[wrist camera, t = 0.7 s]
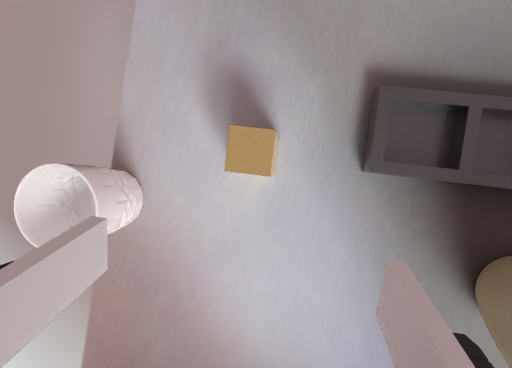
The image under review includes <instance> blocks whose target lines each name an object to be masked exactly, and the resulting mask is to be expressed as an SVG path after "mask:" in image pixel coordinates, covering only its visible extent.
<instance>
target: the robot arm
mask: <svg viewBox="0 0 512 368" xmlns="http://www.w3.org/2000/svg"><path fill="white" fill-rule="evenodd" d="M107 270H108V248H107V218H102V217H96V216H91V217H89V218H87V219H86V220H84V221H82V222H80V223H79V224H77V225H75V226H74V227H72V228H70V229H69V230H67V231H65V232H63V233H62V234H60V235H58V236H57V237H55V238H53V239H52V240H50V241H48V242H46V243H45V244H43V245H41V246H40V247H38V248H36V249H35V250H33V251H31V252H29V253H28V254H26V255H24V256H23V257H21V258H19V259H17V260H16V261H12V262H9V263H6V264H3V265H0V368H2V367H3V366H4V365H5V364H6V363H7V362H8V361H9V360H10V359H11V358H12V357H14V356H15V355H16V354H17V353H18V352H19V351H20V350H21V349H22V348H23V347H24V346H25V345H26V344H28V343H29V342H30V341H31V340H32V339H33V338H34V337H35V336H36V335H37V334H38V333H39V332H41V331H42V330H43V329H44V328H45V327H46V326H47V325H48V324H49V323H50V322H51V321H52V320H54V319H55V318H56V317H57V316H58V315H59V314H60V313H61V312H62V311H63V310H64V309H65V308H67V307H68V306H69V305H70V304H71V303H72V302H73V301H74V300H75V299H76V298H77V297H79V296H80V295H81V294H82V293H83V292H84V291H85V290H86V289H87V288H88V287H89V286H90V285H92V284H93V283H94V282H95V281H96V280H97V279H98V278H99V277H100V276H101V275H102V274H104V273H105V272H106V271H107ZM376 316H377V318H378V321H379V324H380V326H381V329H382V332H383V335H384V337H385V340H386V343H387V346H388V348H389V351H390V354H391V357H392V359H393V362H394V365H395V367H396V368H494V367H493V365H492V364H491V363H490V362H488V359H487V357H486V356H485V354H484V353H483V352H482V350H481V349H480V348H479V346H477V345H476V344H475V343H474V342H473V341H472V340H470V339H469V338H468V337H467V336H466V335H464V334H458V333H452V332H451V330H450V329H449V327H448V326H447V324H446V323H445V321H444V319H443V318H442V316H441V315H440V313H439V312H438V310H437V309H436V307H435V306H434V304H433V303H432V301H431V300H430V298H429V297H428V295H427V294H426V292H425V291H424V289H423V288H422V286H421V285H420V283H419V282H418V280H417V279H416V277H415V275H414V274H413V272H412V271H411V269H410V268H409V266H408V265H407V263H401V262H394V261H388V265H387V270H386V274H385V278H384V282H383V286H382V290H381V294H380V298H379V302H378V307H377V311H376Z"/></svg>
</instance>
